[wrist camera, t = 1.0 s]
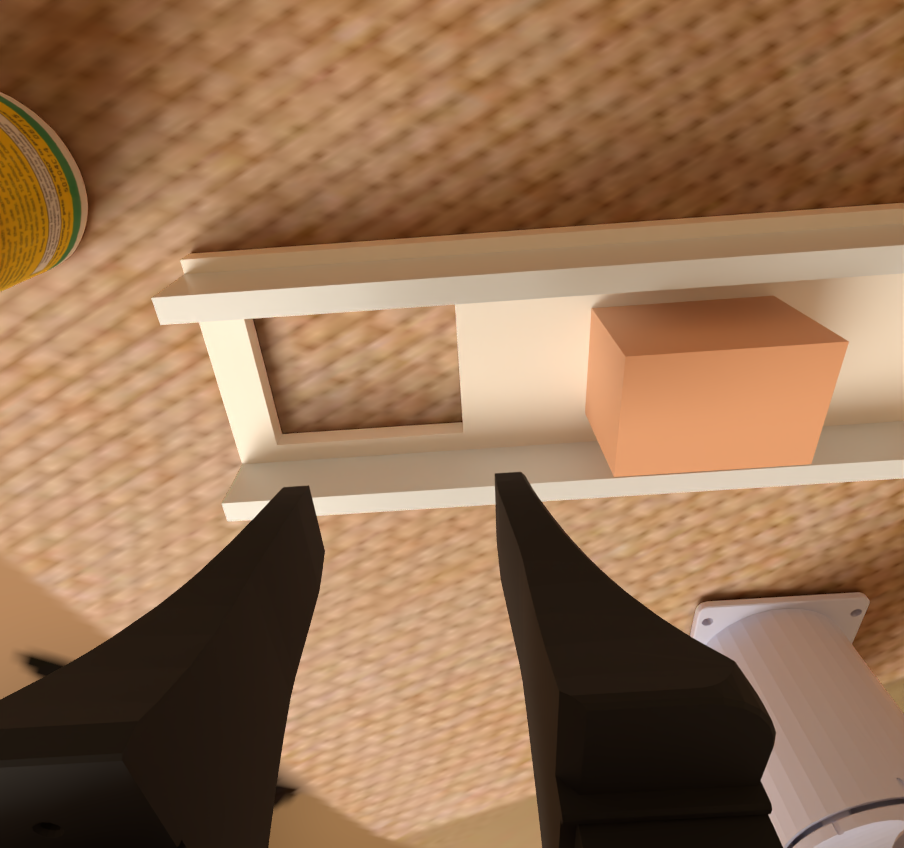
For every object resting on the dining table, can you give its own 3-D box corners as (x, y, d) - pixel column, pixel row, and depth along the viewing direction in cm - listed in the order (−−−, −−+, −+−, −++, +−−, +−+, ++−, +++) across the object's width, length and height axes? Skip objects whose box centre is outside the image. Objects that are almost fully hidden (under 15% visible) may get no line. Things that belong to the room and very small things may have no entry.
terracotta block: (749, 402, 21) (811, 464, 17) (584, 413, 21) (614, 476, 17) (773, 295, 19) (849, 341, 15) (591, 308, 19) (625, 356, 15)
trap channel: (879, 438, 23) (940, 486, 20) (255, 478, 23) (230, 531, 20) (967, 198, 18) (1063, 217, 15) (189, 253, 18) (145, 282, 16)
